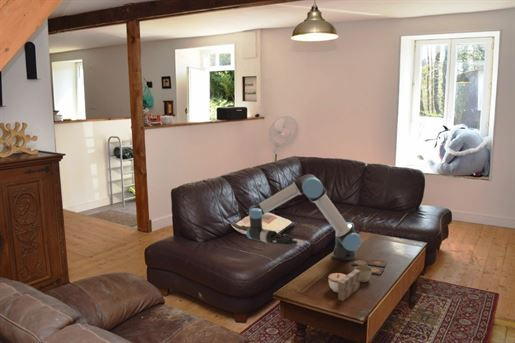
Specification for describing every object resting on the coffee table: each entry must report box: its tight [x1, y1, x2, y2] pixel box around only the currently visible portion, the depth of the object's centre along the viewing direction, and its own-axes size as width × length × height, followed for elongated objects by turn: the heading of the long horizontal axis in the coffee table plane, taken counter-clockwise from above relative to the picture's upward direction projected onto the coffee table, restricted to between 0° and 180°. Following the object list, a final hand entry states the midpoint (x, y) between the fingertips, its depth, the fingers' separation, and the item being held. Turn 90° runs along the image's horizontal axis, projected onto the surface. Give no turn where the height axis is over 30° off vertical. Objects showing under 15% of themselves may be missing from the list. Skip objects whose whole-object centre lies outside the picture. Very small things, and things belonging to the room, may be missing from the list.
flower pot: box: [354, 265, 373, 283], centre depth 260 cm, size 10×10×7 cm
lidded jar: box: [328, 272, 348, 293], centre depth 248 cm, size 11×11×9 cm
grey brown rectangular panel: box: [337, 268, 361, 302], centre depth 244 cm, size 20×3×10 cm, turn 143°
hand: (302, 243), depth 258 cm, fingers closed
